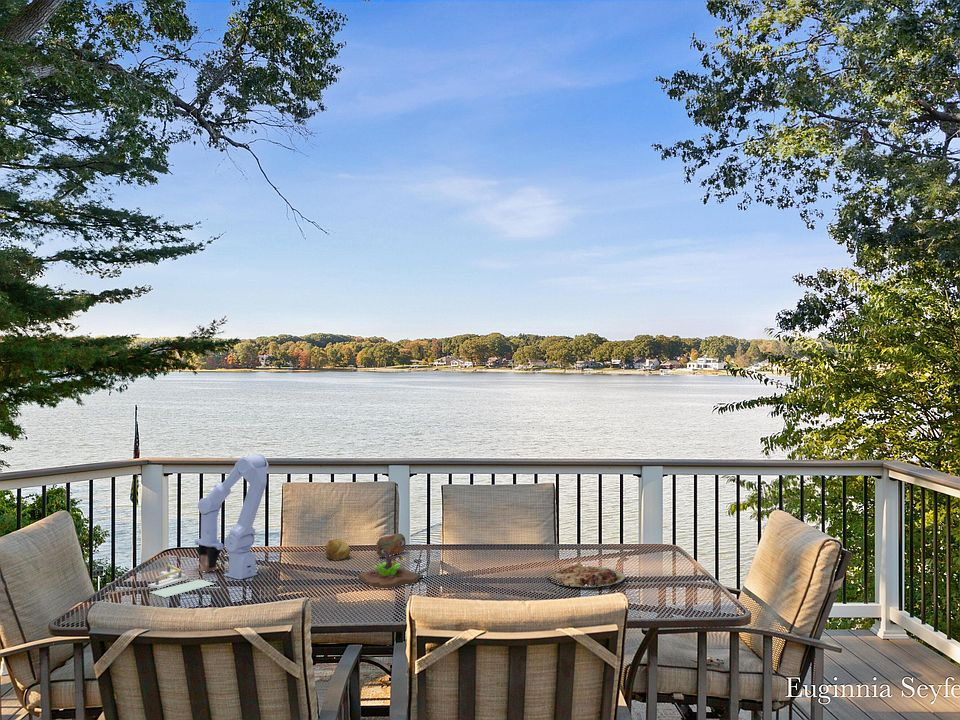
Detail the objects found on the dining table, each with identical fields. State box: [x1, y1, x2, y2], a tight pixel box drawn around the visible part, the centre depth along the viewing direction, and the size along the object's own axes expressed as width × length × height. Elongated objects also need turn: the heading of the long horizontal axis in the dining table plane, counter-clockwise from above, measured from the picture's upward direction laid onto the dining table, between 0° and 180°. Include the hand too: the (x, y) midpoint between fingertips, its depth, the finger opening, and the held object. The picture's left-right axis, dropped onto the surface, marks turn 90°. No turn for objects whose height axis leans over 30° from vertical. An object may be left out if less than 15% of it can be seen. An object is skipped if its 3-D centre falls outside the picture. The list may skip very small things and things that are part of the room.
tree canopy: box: [375, 533, 407, 558], centre depth 293 cm, size 15×3×8 cm, turn 143°
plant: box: [358, 549, 420, 588], centre depth 256 cm, size 20×20×11 cm
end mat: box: [149, 579, 216, 599], centre depth 243 cm, size 9×19×1 cm, turn 146°
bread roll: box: [325, 539, 351, 560], centre depth 289 cm, size 13×10×8 cm
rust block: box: [199, 554, 217, 572], centre depth 266 cm, size 4×4×6 cm
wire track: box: [147, 563, 190, 590], centre depth 253 cm, size 17×17×4 cm
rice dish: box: [550, 562, 626, 589], centre depth 259 cm, size 28×28×5 cm
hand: (208, 566), depth 266 cm, fingers closed on rust block, 4 cm apart
